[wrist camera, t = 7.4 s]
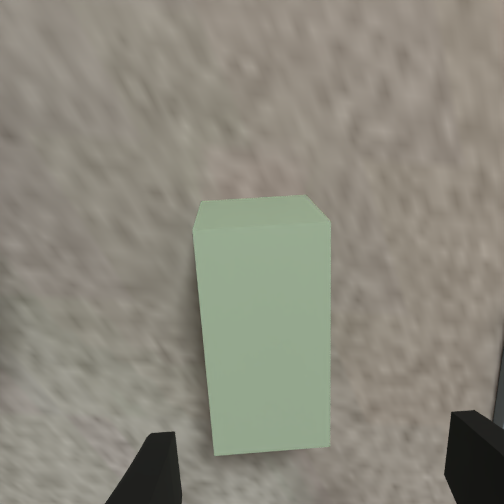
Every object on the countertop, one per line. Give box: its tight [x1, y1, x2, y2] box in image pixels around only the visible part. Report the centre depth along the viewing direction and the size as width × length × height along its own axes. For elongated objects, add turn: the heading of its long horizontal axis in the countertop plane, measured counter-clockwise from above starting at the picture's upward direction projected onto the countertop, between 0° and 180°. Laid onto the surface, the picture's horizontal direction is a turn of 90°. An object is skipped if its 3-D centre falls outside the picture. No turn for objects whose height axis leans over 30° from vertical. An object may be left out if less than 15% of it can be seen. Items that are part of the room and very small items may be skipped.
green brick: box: [192, 195, 331, 456], centre depth 18 cm, size 9×4×5 cm, turn 3°
